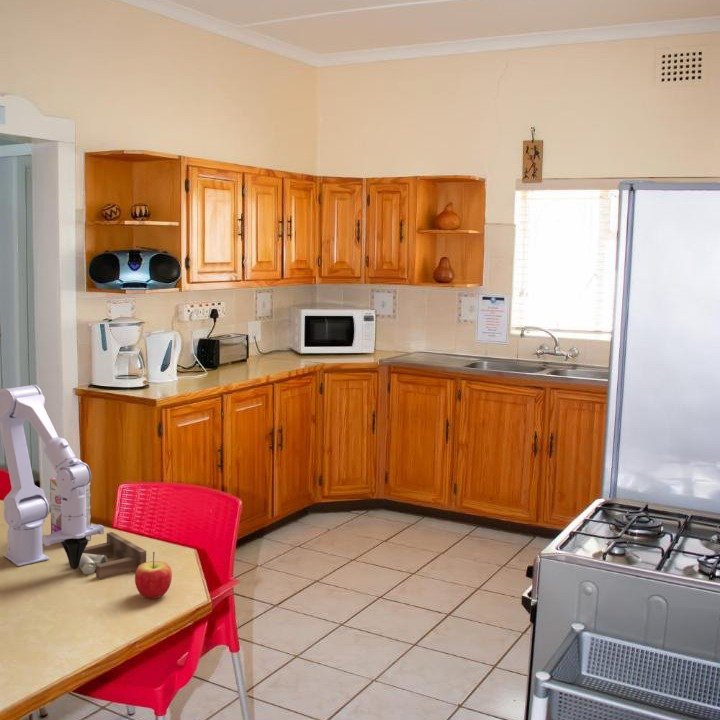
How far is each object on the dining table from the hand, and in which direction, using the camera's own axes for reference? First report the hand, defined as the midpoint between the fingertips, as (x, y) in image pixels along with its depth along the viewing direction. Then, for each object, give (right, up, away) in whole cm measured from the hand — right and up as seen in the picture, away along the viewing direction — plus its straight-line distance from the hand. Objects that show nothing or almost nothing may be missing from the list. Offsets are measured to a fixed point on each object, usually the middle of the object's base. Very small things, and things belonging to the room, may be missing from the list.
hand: (74, 567), depth 208 cm
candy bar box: (-9, +2, +24) cm, 26 cm away
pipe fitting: (+2, -2, +2) cm, 4 cm away
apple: (+22, -4, -12) cm, 25 cm away
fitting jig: (+6, -1, +6) cm, 9 cm away
